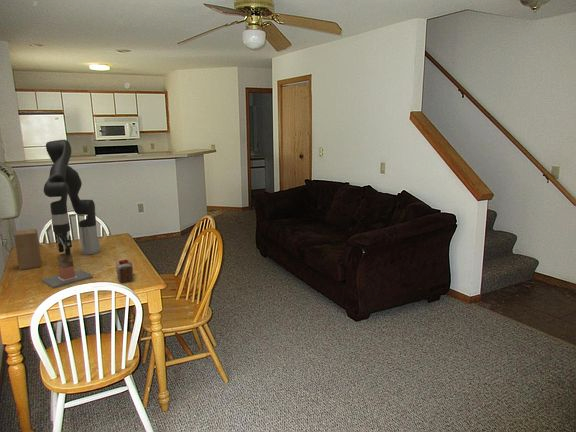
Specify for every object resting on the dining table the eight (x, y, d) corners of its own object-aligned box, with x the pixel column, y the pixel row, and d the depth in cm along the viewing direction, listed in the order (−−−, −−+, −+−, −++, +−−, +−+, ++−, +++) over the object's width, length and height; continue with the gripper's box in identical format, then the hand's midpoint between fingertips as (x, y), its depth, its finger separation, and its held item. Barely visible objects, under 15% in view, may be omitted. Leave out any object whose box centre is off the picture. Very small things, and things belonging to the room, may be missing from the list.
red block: (71, 274, 214) (69, 263, 213) (75, 277, 210) (74, 265, 209) (59, 277, 210) (58, 266, 209) (63, 279, 206) (62, 268, 205)
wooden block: (19, 270, 224) (13, 234, 220) (21, 265, 233) (16, 230, 229) (40, 267, 229) (35, 232, 224) (41, 262, 237) (36, 228, 233)
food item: (115, 275, 216) (113, 257, 213) (131, 272, 219) (130, 255, 217) (119, 283, 204) (117, 265, 202) (136, 281, 208) (134, 262, 206)
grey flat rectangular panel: (80, 271, 222) (80, 269, 222) (93, 277, 212) (92, 275, 212) (42, 280, 208) (41, 278, 208) (53, 288, 198) (52, 286, 198)
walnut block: (69, 263, 212) (67, 252, 211) (73, 265, 209) (72, 254, 208) (58, 266, 208) (57, 254, 207) (63, 268, 205) (61, 256, 204)
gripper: (74, 223, 202) (78, 254, 206) (63, 218, 211) (67, 249, 215) (58, 226, 197) (62, 258, 200) (47, 221, 206) (51, 252, 209)
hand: (64, 253), depth 207 cm, fingers open, 8 cm apart
